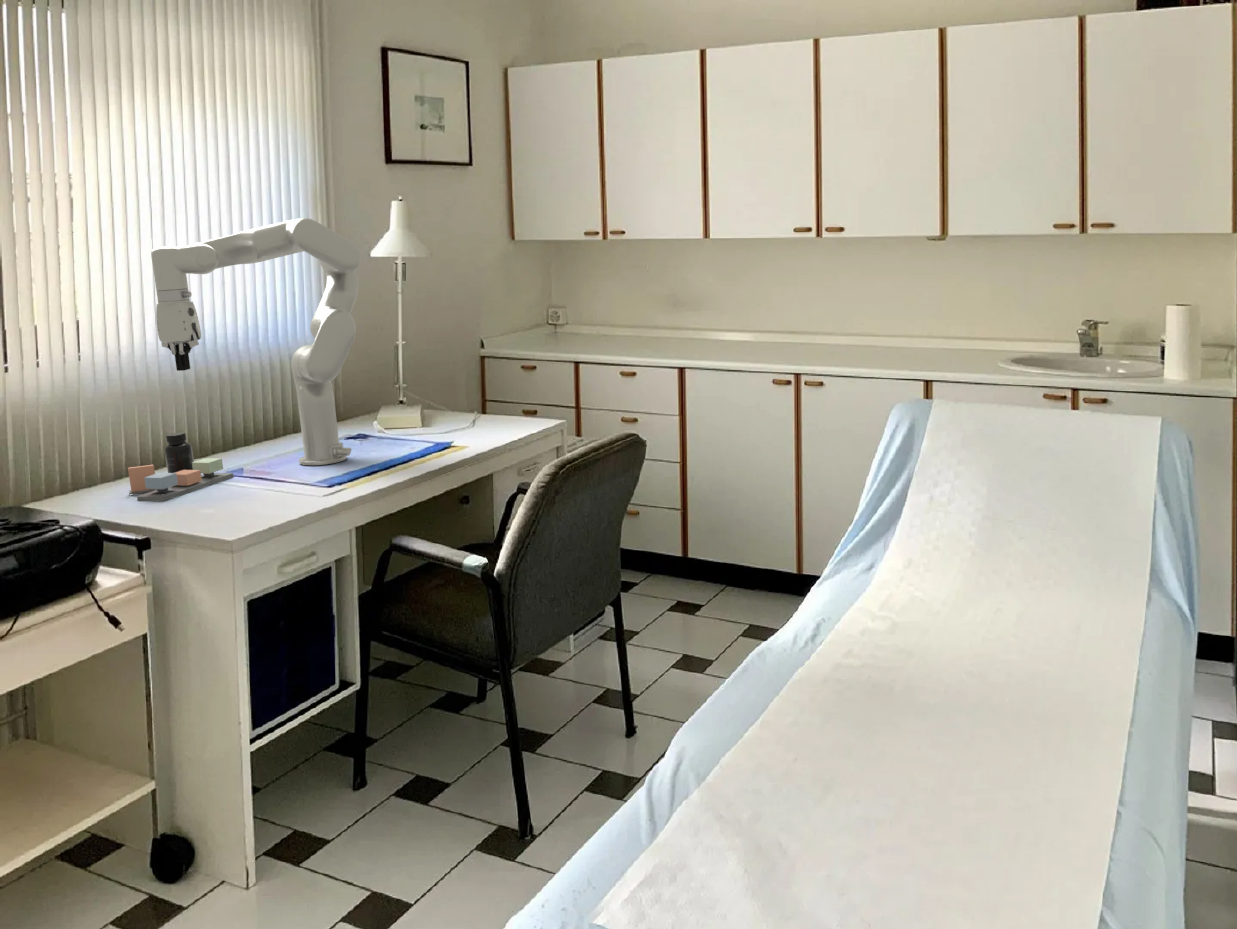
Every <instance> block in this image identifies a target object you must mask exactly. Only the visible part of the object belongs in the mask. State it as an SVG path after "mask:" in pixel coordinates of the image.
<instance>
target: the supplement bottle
mask: <svg viewBox="0 0 1237 929" xmlns="http://www.w3.org/2000/svg"><path fill="white" fill-rule="evenodd" d="M165 438H166V443H167V445H165V446H164V448H163V449H164V450H163V451H164V457H165V462H166V470H167V473H175V472H178V471H182V470H193V467H192V462H195V459H194V453H193V447H192V444H191V443H190V442H187V435H186V432H183V431H181V432H174V433H173V432H172V433H169V434H166V435H165Z"/></svg>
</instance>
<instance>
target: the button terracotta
mask: <svg viewBox="0 0 1237 929" xmlns="http://www.w3.org/2000/svg"><path fill="white" fill-rule="evenodd" d="M175 473H176V474H177V481H178V484H177V485H180V486H190V485H192V484H194V483H197V482H200V481H202V479H201V475H202V473H201V472H200V470H182V471H178V472H175Z"/></svg>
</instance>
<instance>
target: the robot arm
mask: <svg viewBox="0 0 1237 929" xmlns="http://www.w3.org/2000/svg"><path fill="white" fill-rule="evenodd" d="M150 252H151V254H150V255H151V256H150V257H151V265H152V269H153V277H154V284H155V291H156V298H157V303H156V310H155V311H156V314H155V315H156V317H155V318H156V329H157V330H156V331H157V336H158V340H159V341H160V342H161V343H160V344H161V347H162V348H166V349H169V350H170V351H171V354H172V355H173V356H174V361H175V368H176V371H182V372H184V371H187V370H191V363H190V357H189V356H190V353H191V351H192V349H193V347H198V346H199V345H200V344H199V340H201V339H202V332H201V326H200V321H199V317H198V312H197V309H196V307H195V304H194V302H193V301H192V300H191V299H190V298H191V297H192V295H193V294H192V291H190V290H189V286H188V285H189V283H188V278H187V277H188V276H187V275H188V274H190V275H191V274H193V275H208V274H210V273H212V272H213V271H215V270H217V269H221V268H226V267H230V266H237V265H248V264H249V265H251V264H256V263H262V262H265V261H270V260H273V259H278V258H281V257H286V256H289V255H294V254H298V253H303V252H305V253H307V254H308V255H310V256H312V257H314V258H315V259H317V260H318V262H319V265H320V266H321V268H322V269H323V271H324V273H325V277H326V285H325V288H324V291H323V294H322V297H321V300H320V301H319V304H318V306H317V309H316V310H315V312H314V315H313V317H312V319H311V321H310V326H309V327H310V328H309V329H310V333H311V336H312V337H313V338H314V341H313V343H312V344H306V345H303V346H301V347H299V348H298V349H297V350H295V351H294V353H293V355H292V357H291V364H290V365H291V366H290V367H291V371H292V372H291V373H292V377H293V378H292V379H293V380H294V386H295V390H296V397H297V404H298V413H299V421H300V422H299V423H300V429H301V430H300V431H301V439H302V447H303V448H302V449H303V453H304V454H303V456H302V457H300V458H299V459H298V462H299V463H298V464H300V465H302V466H323V465H329V464H330V465H331V464H336V463H340V462H344V461H346V460H347V459H348V458H347V456H350V455H351V453H352V448H351V447H344V443H343V442H340V438H339V429H338V422H337V420H338V419H337V413H336V412H337V411H336V405H335V404H336V401H335V394H334V388H333V384H332V381H333V380H334V379H336V378H337V376H338V375H339V374H340V372H341V370H342V368H343V365H345V361H346V359H347V357H348V355H349V352H350V350H351V347H352V345H353V343H354V340H355V337H356V333H357V324H356V321H355V319H354V317H353V315H351V313H352V311H353V309H354V307H355V304H356V301H357V298H358V294H359V288H360V287H359V286H360V285H359V284H360V283H359V277H358V274H357V270H358V268H360V266H361V264H362V263H361V262H362V259H363V258H362V253H361V250H360V248H359V247H358V245H357V244H355V243H354V242H353V241H352V240H350V239H349V238H346V237H344V236H343V235H341V234H339V233H337V232H335V231H334V230H332V229H330V228H329V227H326V226H325V225H324V224H322V223H320V222H318V221H316V220H314V219H312V218H309V217H307V218H306V217H302V218H295V219H290V220H285V221H281V222H277V223H273V224H268V225H263V226H260V227H254V228H251V229H247V230H243V231H239V232H235V233H234V234H230V235H227V236H226V235H225V236H222V237H217V238H213V239H208V240H205V241H201V242H195V243H191V244H188V245H186V246H161V247H155V248H153V249H152V250H151V251H150Z"/></svg>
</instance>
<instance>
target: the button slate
mask: <svg viewBox="0 0 1237 929" xmlns="http://www.w3.org/2000/svg"><path fill="white" fill-rule="evenodd" d="M177 484H178V481H177V474H176V473H168V472H157V473H155V474H154V475H151V476H148V477H145V485H146V489H157V492H162V491H167V490H168V487H171V486H174V485H177Z"/></svg>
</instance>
